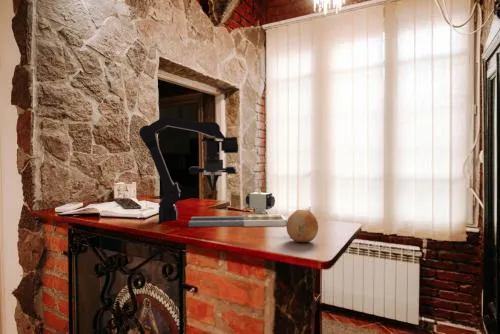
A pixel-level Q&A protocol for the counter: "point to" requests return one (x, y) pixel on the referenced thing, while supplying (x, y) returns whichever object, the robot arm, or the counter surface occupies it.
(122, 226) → the counter surface
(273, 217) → the block
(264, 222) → the tray
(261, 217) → the block
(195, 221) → the slot rail
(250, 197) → the pneumatic valve
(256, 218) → the block
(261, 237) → the counter surface
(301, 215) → the onion
